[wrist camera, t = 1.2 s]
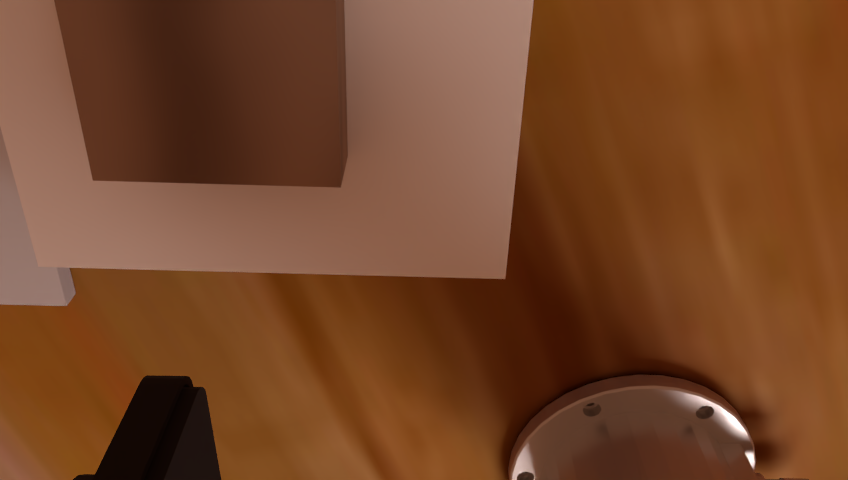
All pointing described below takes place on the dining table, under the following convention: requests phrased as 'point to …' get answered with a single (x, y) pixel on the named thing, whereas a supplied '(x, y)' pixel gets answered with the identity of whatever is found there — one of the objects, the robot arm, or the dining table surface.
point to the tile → (210, 89)
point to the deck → (296, 205)
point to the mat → (24, 253)
